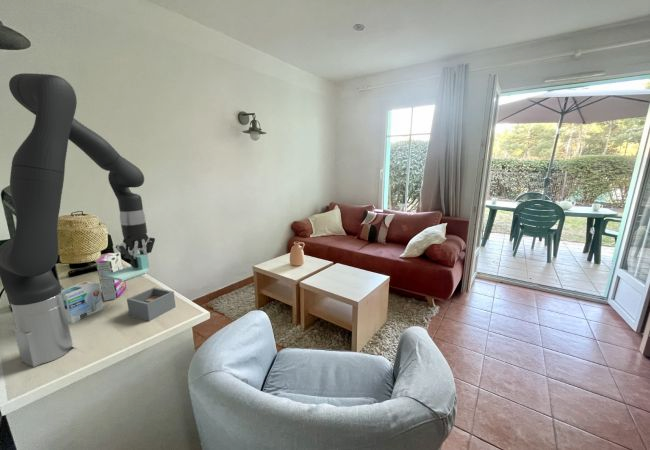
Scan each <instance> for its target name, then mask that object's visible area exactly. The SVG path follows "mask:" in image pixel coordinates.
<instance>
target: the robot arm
mask: <svg viewBox="0 0 650 450" xmlns="http://www.w3.org/2000/svg"><path fill="white" fill-rule="evenodd" d="M8 87H9V91H10V93H11V95H12V97H13V99H15V100H16V102H18V103H19V104H20V105H21V106H22V107H23V108H25V109H26V110H28V112H30V113H31V114H33V115H35V118H34V119H35V120H34V124H33V127H32V129H31V131H30V133H29V134H28V136H27V137H26V138H25V139H24V141H23V142H22V143H21V144H20V145H19V147H18V148H17V150H16V151H15V153H14V155H13V157H12V161H11V168H10V176H9V190H10V195H11V200H12V203H13V208H14V211H15V218H16V223H15V224H16V225H15V231H14V234H13V235H14V236H13V238H11V239H9V240H7V241H5V242H4V243H3V244H1V245H0V280H1V284H2V287H3V290H4V293H6V296H7V297H8V299H9V302H10V306H11V310H12V314H13V317H14V322H15V325H16V328H15V329H13V333H14V337H15V340H16V345H17V348H18V352H19V356H20V360H21V362H23V363H24V364H27V365H29V366H30V367H32V368H36V367H37V366H39V365H43V364H46V363H49V362H52V361H54V360H57V359H59V358H62V357H63V356H65V355H66V354H68V353H69V352H70V351H71V350H72V349H73V338H72V333H71V331H70V326H69V325H70V324H68V320H67V316H66V311H65V306H64V302H63V297H62V292H61V290H62V289H61V285H60V281H58V279H57V278H56V276H55V275H54V273H53V271H52V269H53V268H54V266H55V265H56V264H57V262H58V260H59V237H58V236H59V235H58V233H59V231H58V226H59V224H58V223H59V214H60V209H61V202H62V201H61V200H62V195H63V188H64V183H65V182H64V181H65V173H66V172H65V170H66V160H67V159H66V158H67V152H68V145H69V141H70V142H72V144H74V145H75V147H78V148H79V149H80V150H81V151H82V152H83V153H84V154H85V155H86V156H87V157H89V158H90V159H91V160H92V162H94V163H95V164H96V165H97V166H98V167H99V168H100V169H102V170H104V171H107V172H108V177H107V178H108V183H109V186H110V187H111V189H112V191H113V194H114V196H115V197H116V199H117V202H118V208H119V209H118V210H119V220H120V227H121V233H122V237H123V239H122V243H121V244H117V245H116V246H115V249H116V250H117V251H118V253H120V255H121V256H122V257H123V258H124V259H128V260H130V264H131V265H130V266H132V267H134V268H138V261H137V253H138V251H139V254H143V255H147V256H148V254H149V253H152V251H153V248H154V245H155V241H156V238H155V237H150V236H148V234H147V233H148V229H147V223H146V222H147V221H146V217H145V216H146V215H145V212H144V207H143V206H144V205H143V200H142V196H141V195H140V194H138V193H133V192H132V191H131V189H130V188H140V187H141V186H143V184H144V182H145V176H144V173H143V172H142V170H141V169H140V168H139V167H138V166H136V165H135V164H134V163H132V162H131V161H129V160H128V159H127V158H125V157H123V155H120V153H119V152H118V151H116V149H115V148H114V147H113V146H112V145H111V143H109V141H107V140H106V139H105V138H103V136H101V135H100V134H98V132H97V133H96V132H95V131H93V130H92V129H90V128H88V127H87V126H85V125H84V124H82V123H81V122H80V121H79V120H77V119H76V118H74V117H75V114H76V111H77V110H76V109H77V104H78V103H77V95H76V91H75V89H74V88H73V86H72V84H70V82H69V81H68V80H66V79H65V78H63V77H61V76H58V75H55V74H49V73H48V74H47V73H27V72H26V73H25V72H24V73H17V74H14V75H13V76H12V77H11V78H10V80H9V82H8Z"/></svg>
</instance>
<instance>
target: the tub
mask: <svg viewBox="0 0 650 450" xmlns="http://www.w3.org/2000/svg"><path fill="white" fill-rule="evenodd" d="M152 296H158V297H159V298H157V299H155V300H153V301H150V302H148V303H147V302H145V301H146V300H147V299H149V298H150V297H152ZM126 302H127V307H128V308H127V309H128V313H129V316H130V317H132V318H137V319H140V320H144V321H146V322H147V321H148V322H151V321H153V320H155V319H156V318H159V317H160V316H162V315H164V314H166V313H168V312H170V311H171V310H173V309H175V308H176V301H175V292H174V290H173V291H172V290H168V289H164V288H160V287H155V286H154V287H152V288H149V289H147V290H145V291H142V292H140V293H138V294H135V295H133V296H131V297H128V298H126Z"/></svg>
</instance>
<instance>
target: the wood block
mask: <svg viewBox="0 0 650 450" xmlns="http://www.w3.org/2000/svg"><path fill="white" fill-rule="evenodd" d="M157 298H159V297H158V296H152V297H150V298H149V299H147V300H146V301H145V302H147V303H148V302H150V301H153V300H155V299H157Z"/></svg>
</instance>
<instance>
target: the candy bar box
mask: <svg viewBox="0 0 650 450" xmlns="http://www.w3.org/2000/svg"><path fill="white" fill-rule="evenodd" d="M95 266H96V269H97V274H98V279H99V285H100V291H101V296H102V301H103V302H105V301H106V302H107V301H113V300H117V299H118V298H120V296H122V294H123V293H124V291H125V290H126V289H127V284H126V281H125V282H123V281H118V280H114V279H110V278H106V277H105V276H104V275H106V274H109V273H112V272H115V271H118V270H121V269H124V267H123V262H122V254H121V253H120V252H112V253H110V252H109V253H106V254H105V255H103V256H102V257H101V258H100V259H98V260H97V261H96V262H95Z"/></svg>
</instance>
